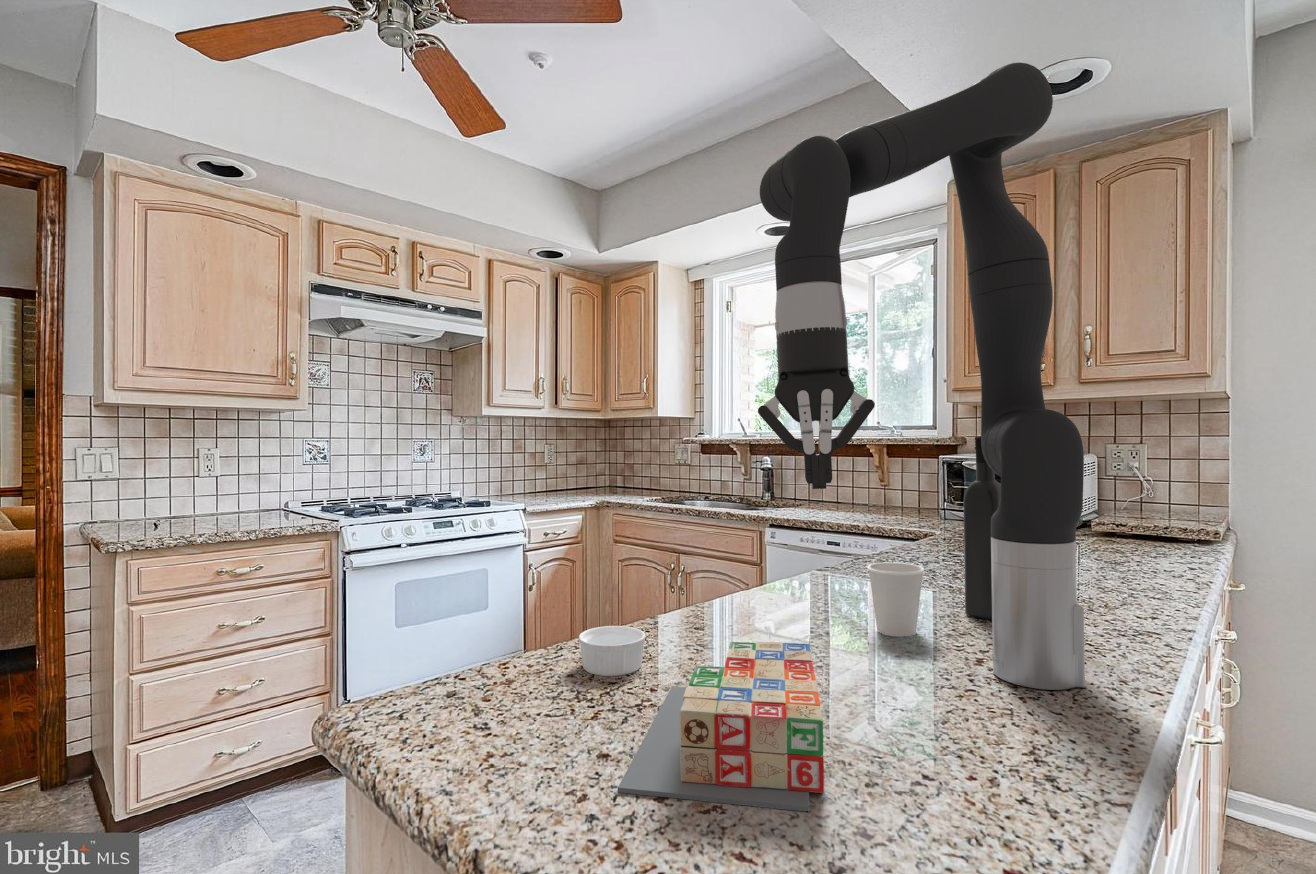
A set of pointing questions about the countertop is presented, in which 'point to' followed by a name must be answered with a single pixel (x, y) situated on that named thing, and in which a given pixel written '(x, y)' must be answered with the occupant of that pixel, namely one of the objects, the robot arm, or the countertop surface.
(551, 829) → the countertop surface
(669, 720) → the mat
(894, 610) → the dixie cup
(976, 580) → the wine bottle
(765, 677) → the stack of blocks
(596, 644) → the ramekin
